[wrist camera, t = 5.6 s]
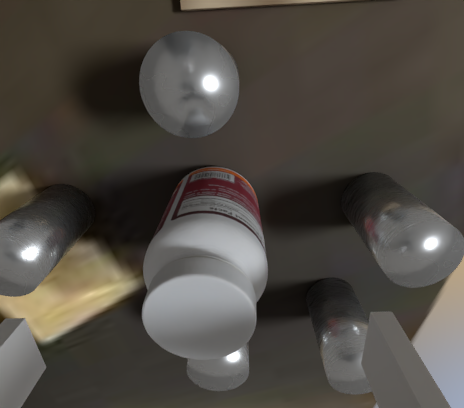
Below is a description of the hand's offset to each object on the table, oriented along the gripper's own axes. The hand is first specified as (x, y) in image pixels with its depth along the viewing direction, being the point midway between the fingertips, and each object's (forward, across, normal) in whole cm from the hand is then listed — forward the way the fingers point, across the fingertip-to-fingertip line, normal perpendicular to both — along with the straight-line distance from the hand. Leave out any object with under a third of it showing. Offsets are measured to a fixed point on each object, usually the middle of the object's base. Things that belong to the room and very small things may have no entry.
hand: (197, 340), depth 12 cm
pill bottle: (+12, 0, 0) cm, 12 cm away
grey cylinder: (+12, +9, -8) cm, 17 cm away
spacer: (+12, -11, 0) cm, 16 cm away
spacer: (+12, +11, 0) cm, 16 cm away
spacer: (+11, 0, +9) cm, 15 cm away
